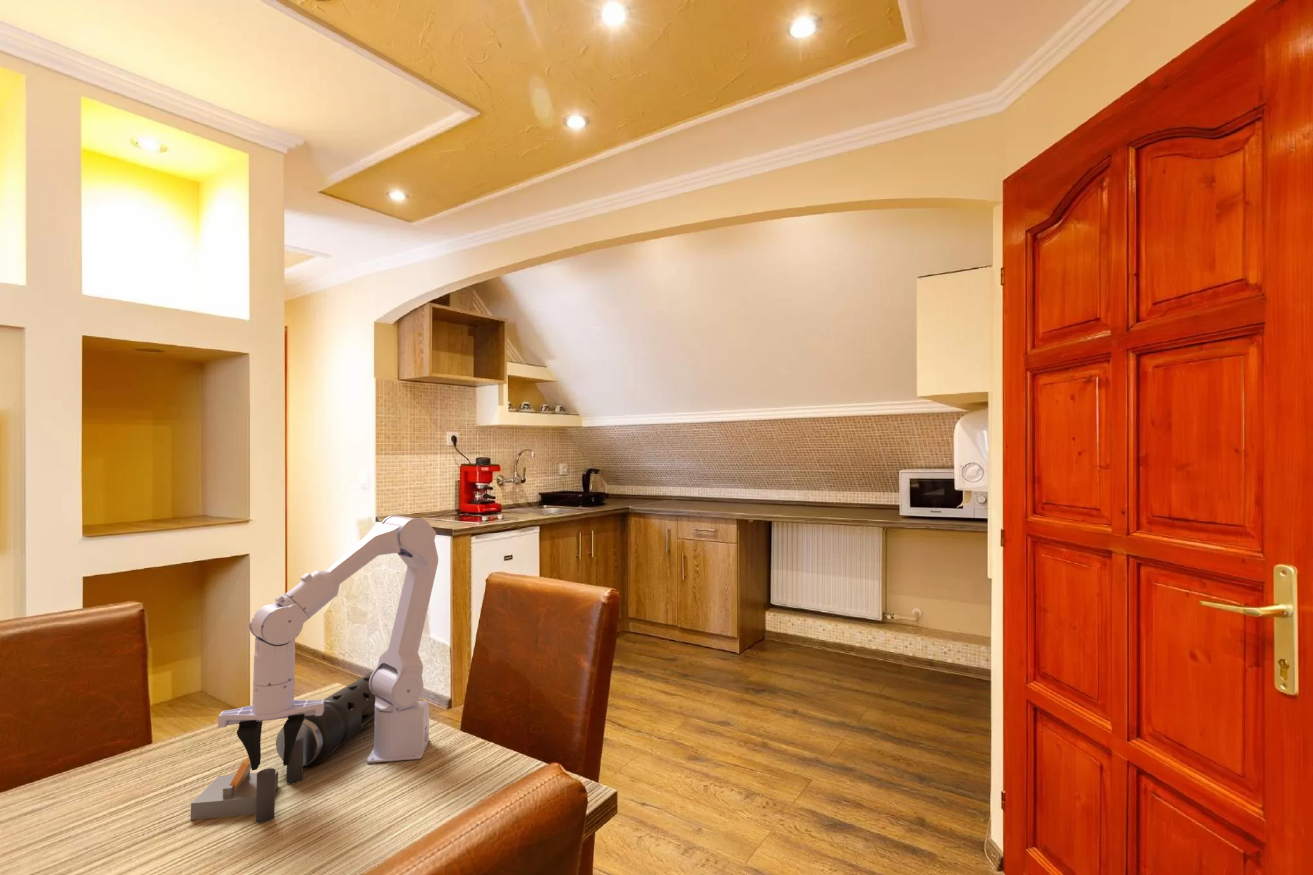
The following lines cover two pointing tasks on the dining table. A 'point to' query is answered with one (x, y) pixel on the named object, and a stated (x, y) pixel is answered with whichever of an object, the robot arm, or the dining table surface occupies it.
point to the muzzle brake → (335, 721)
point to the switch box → (227, 798)
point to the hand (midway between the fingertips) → (271, 764)
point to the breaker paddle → (241, 773)
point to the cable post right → (296, 762)
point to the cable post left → (265, 795)
